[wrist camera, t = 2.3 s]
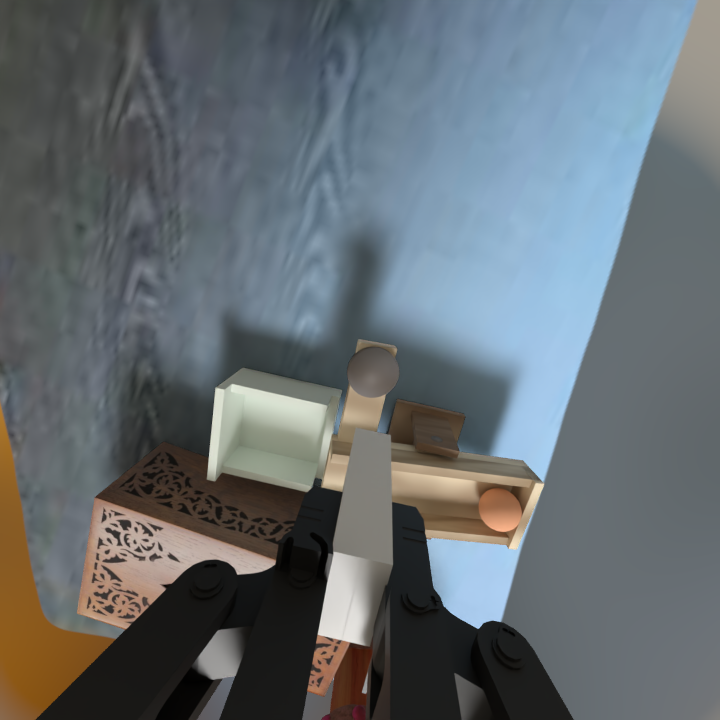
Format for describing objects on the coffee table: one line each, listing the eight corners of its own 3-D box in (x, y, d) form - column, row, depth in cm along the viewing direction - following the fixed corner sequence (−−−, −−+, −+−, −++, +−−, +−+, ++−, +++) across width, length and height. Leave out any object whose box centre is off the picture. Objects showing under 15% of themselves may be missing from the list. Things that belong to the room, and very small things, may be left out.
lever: (351, 337, 27) (355, 350, 24) (556, 375, 30) (584, 390, 27) (317, 501, 32) (316, 530, 29) (498, 521, 35) (516, 549, 31)
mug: (321, 637, 46) (291, 809, 32) (350, 597, 44) (331, 762, 29) (418, 683, 47) (432, 870, 33) (451, 645, 45) (481, 829, 30)
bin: (242, 367, 36) (215, 387, 31) (342, 389, 36) (333, 414, 31) (233, 447, 39) (206, 479, 33) (325, 468, 39) (314, 504, 33)
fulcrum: (397, 398, 36) (399, 431, 29) (463, 413, 36) (481, 450, 29) (375, 483, 39) (372, 531, 32) (436, 497, 39) (447, 548, 32)
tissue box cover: (377, 515, 41) (373, 594, 31) (337, 603, 45) (324, 696, 35) (164, 440, 40) (94, 497, 30) (144, 536, 44) (77, 613, 34)
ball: (478, 478, 31) (499, 506, 28) (511, 480, 32) (536, 508, 29) (466, 510, 32) (486, 541, 29) (499, 511, 33) (522, 541, 30)
